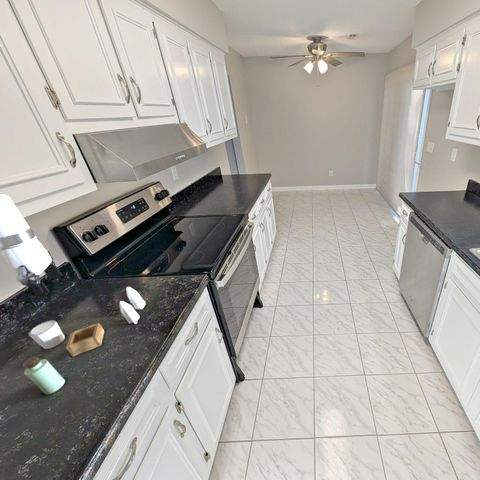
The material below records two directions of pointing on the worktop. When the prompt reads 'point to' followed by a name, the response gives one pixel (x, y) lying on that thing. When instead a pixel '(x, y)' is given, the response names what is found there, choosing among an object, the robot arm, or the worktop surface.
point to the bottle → (43, 375)
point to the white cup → (47, 334)
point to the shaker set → (128, 309)
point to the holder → (85, 339)
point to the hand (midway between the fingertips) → (49, 285)
